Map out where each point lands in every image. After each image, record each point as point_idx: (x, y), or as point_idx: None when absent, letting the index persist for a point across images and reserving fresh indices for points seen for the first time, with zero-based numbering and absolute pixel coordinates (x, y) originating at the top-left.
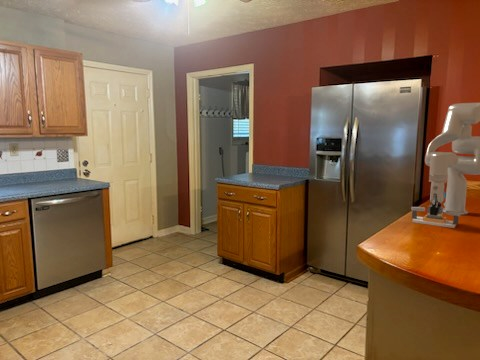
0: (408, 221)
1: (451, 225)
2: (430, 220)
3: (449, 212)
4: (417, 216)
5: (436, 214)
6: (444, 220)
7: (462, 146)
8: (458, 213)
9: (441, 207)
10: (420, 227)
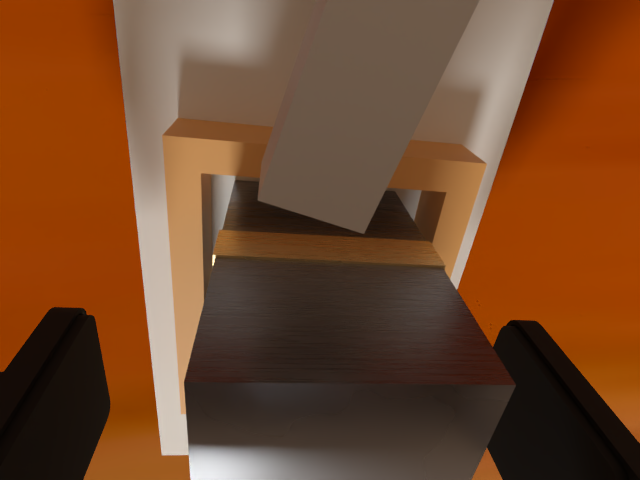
0: None
1: (545, 12)
2: None
3: (411, 115)
4: (167, 447)
5: (539, 341)
6: (415, 153)
7: None
8: None
9: (372, 405)
10: (609, 347)
